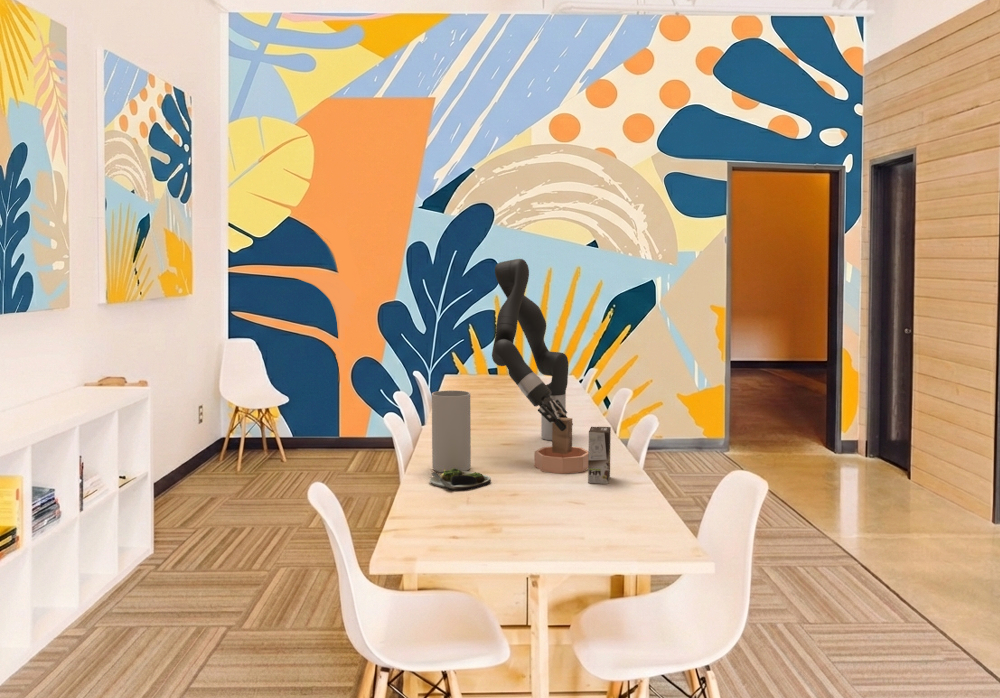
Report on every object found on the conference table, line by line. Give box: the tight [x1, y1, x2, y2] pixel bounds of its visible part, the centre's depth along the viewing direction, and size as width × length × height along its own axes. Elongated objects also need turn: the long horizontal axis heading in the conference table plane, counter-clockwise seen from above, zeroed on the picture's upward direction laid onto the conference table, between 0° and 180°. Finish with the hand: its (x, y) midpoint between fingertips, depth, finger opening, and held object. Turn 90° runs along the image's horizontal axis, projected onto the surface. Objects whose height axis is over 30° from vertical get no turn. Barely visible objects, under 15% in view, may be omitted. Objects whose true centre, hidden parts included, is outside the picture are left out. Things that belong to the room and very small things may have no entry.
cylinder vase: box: [431, 389, 472, 474], centre depth 269 cm, size 12×12×25 cm
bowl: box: [533, 446, 589, 475], centre depth 273 cm, size 17×17×5 cm
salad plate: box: [429, 468, 492, 492], centre depth 254 cm, size 19×18×5 cm
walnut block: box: [551, 417, 573, 454], centre depth 272 cm, size 5×5×11 cm
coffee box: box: [587, 426, 612, 485], centre depth 256 cm, size 9×6×16 cm
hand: (567, 427), depth 271 cm, fingers closed on walnut block, 5 cm apart
